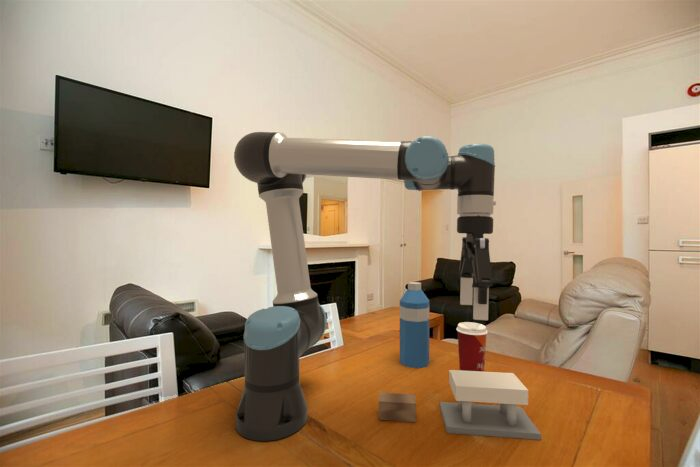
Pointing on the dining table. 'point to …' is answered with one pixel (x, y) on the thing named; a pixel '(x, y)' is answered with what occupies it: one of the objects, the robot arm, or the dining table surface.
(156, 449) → the dining table surface
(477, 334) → the coffee cup
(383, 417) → the riser block
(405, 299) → the water bottle
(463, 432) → the peg stand
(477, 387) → the shelf board
